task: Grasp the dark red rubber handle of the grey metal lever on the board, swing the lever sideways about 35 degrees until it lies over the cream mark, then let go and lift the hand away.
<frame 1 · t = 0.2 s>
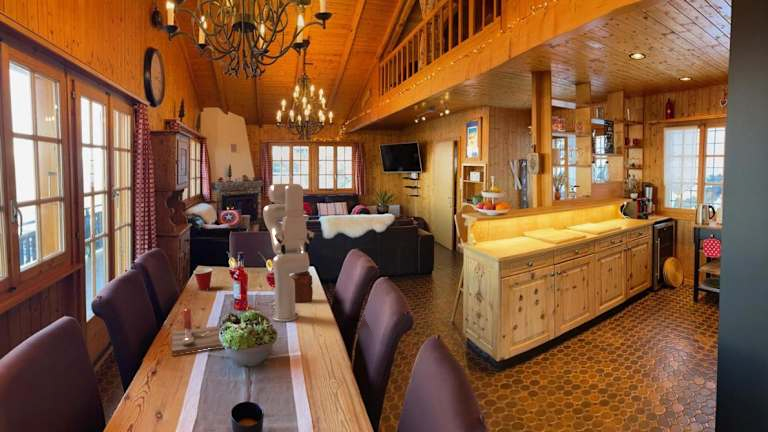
hand: (294, 252, 195), 37 cm above the table, tool pointing down, fingers open, 9 cm apart
lever: (187, 326, 187), point 8 cm above the table, hinge at 0.0°
lever board: (197, 342, 190), on the table
plastic cup: (203, 289, 270), on the table
wooden figurine: (301, 301, 248), on the table
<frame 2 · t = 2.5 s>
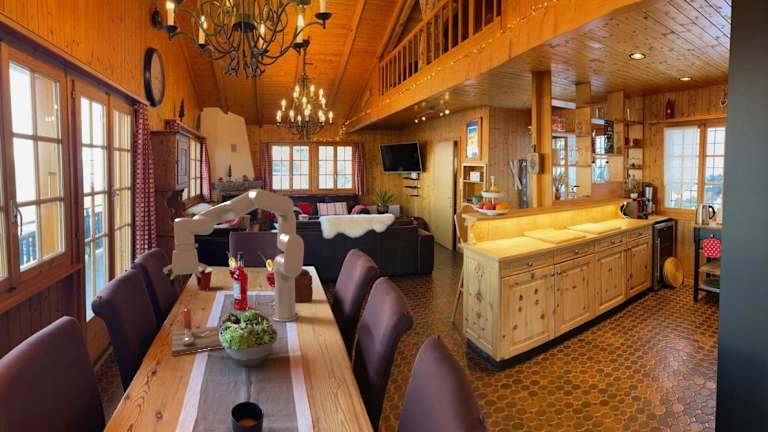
hand: (186, 286, 192), 23 cm above the table, tool pointing down, fingers open, 9 cm apart
nothing on the table moved.
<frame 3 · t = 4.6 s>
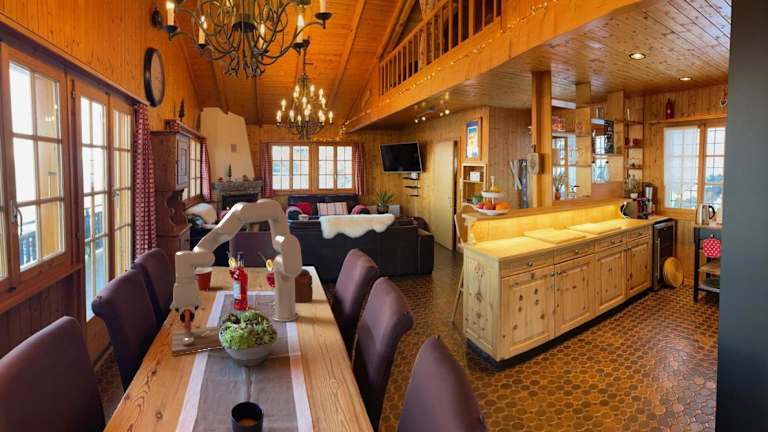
hand: (187, 321, 194), 7 cm above the table, tool pointing down, fingers closed on lever, 3 cm apart
lever: (187, 326, 187), point 8 cm above the table, hinge at 0.0°, touching gripper
everything else where it was.
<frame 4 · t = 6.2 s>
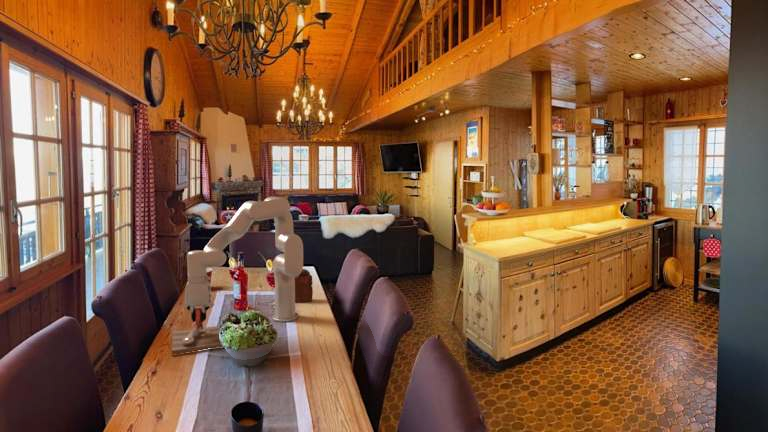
hand: (198, 320, 195), 7 cm above the table, tool pointing down, fingers closed on lever, 3 cm apart
lever: (193, 325, 188), point 8 cm above the table, hinge at 19.1°, touching gripper
everything else where it was.
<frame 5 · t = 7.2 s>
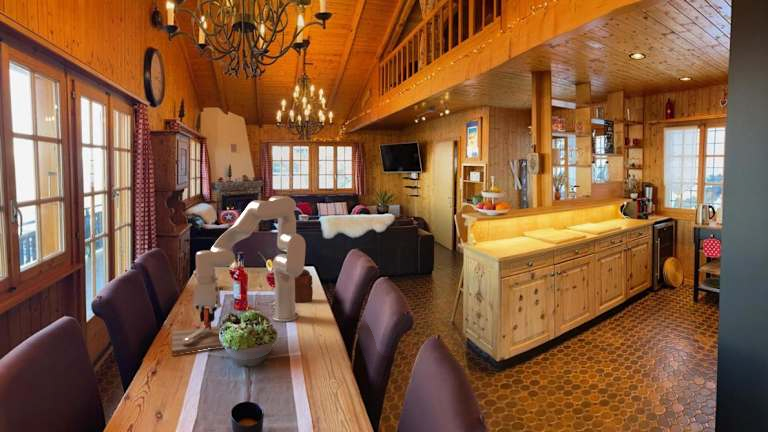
hand: (207, 320, 195), 7 cm above the table, tool pointing down, fingers closed on lever, 3 cm apart
lever: (197, 325, 188), point 8 cm above the table, hinge at 34.2°, touching gripper
everything else where it was.
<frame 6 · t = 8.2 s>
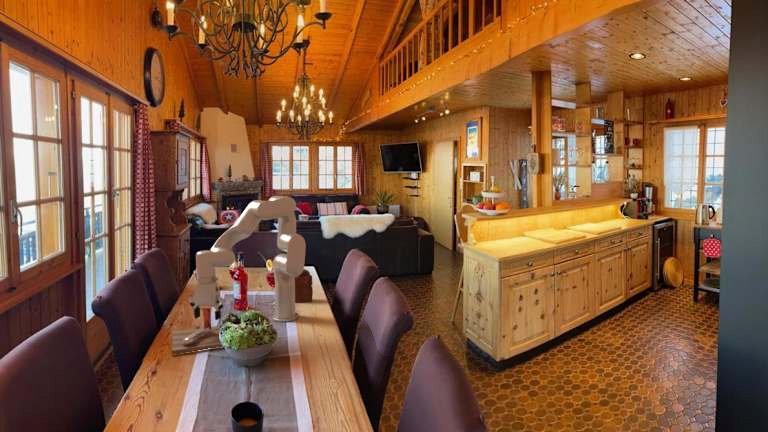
hand: (207, 318, 195), 8 cm above the table, tool pointing down, fingers open, 9 cm apart
lever: (197, 325, 188), point 8 cm above the table, hinge at 34.2°
everything else where it was.
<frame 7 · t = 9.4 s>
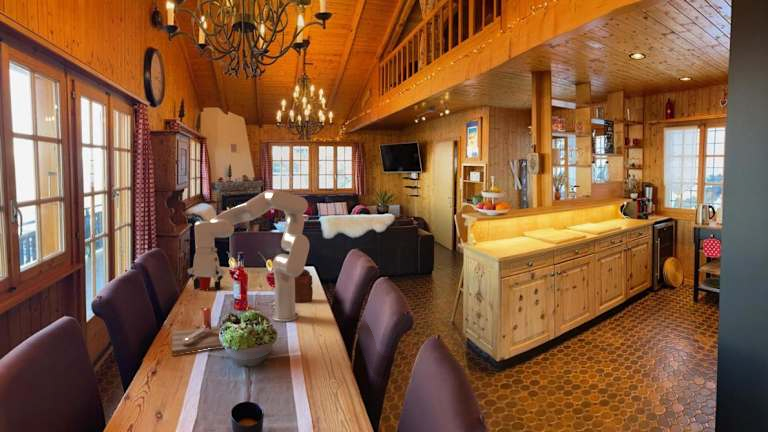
hand: (207, 289, 193), 21 cm above the table, tool pointing down, fingers open, 9 cm apart
nothing on the table moved.
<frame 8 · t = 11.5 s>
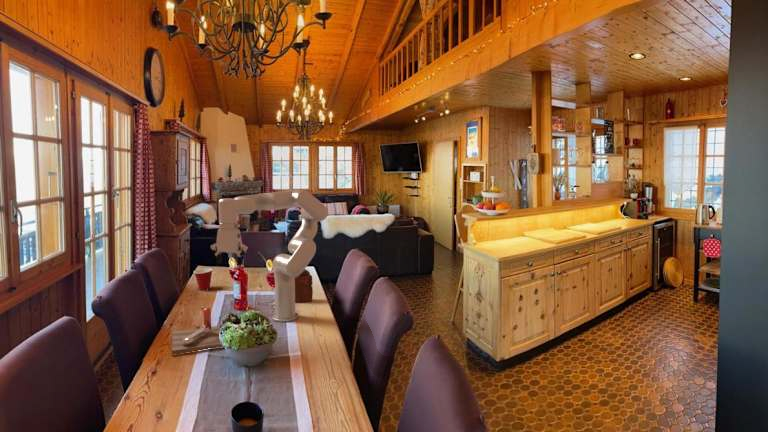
hand: (229, 264, 200), 30 cm above the table, tool pointing down, fingers open, 9 cm apart
nothing on the table moved.
at the end: lever at +34° (first picture: +0°); the gripper is holding nothing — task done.
